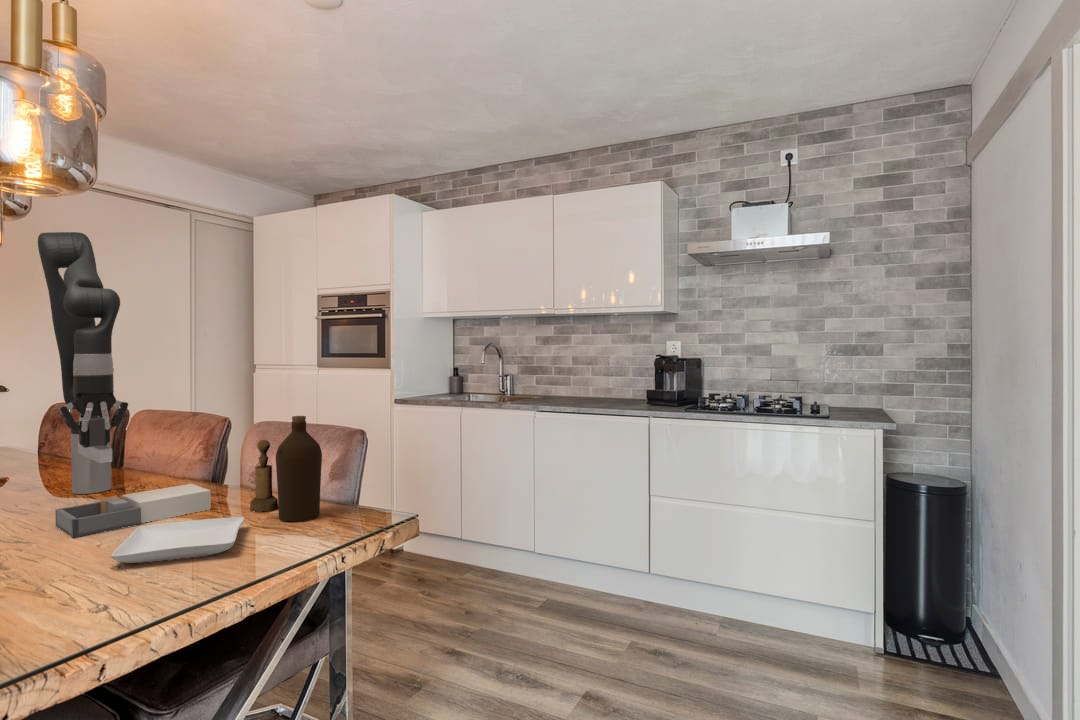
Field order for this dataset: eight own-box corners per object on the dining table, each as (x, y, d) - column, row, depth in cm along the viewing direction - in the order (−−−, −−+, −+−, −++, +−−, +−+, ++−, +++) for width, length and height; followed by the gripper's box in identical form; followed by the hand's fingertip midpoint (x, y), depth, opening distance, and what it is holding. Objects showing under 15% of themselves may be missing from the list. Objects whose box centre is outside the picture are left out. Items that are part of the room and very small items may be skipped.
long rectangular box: (122, 514, 149) (122, 495, 149) (191, 502, 161) (191, 483, 161) (139, 523, 141) (139, 502, 141) (210, 509, 154) (210, 490, 154)
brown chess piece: (244, 510, 153) (243, 441, 153) (264, 504, 159) (264, 437, 159) (263, 513, 150) (263, 442, 150) (283, 507, 156) (283, 439, 156)
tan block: (115, 513, 147) (100, 516, 145) (115, 495, 147) (100, 498, 145) (121, 517, 144) (106, 519, 142) (120, 498, 144) (105, 501, 142)
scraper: (76, 453, 144) (76, 416, 144) (91, 451, 147) (91, 415, 146) (98, 463, 134) (97, 423, 134) (113, 461, 137) (113, 422, 136)
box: (55, 526, 139) (55, 509, 139) (120, 514, 149) (120, 498, 149) (73, 538, 131) (72, 520, 130) (141, 524, 141) (140, 507, 141)
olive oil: (309, 524, 142) (309, 419, 141) (267, 522, 143) (266, 418, 142) (329, 511, 152) (329, 414, 152) (290, 510, 153) (289, 413, 153)
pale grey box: (122, 517, 144) (107, 520, 142) (122, 498, 144) (107, 501, 141) (128, 520, 141) (113, 523, 139) (128, 501, 141) (113, 504, 139)
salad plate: (138, 539, 131) (138, 524, 131) (245, 529, 139) (245, 514, 139) (108, 573, 111) (108, 555, 111) (235, 559, 119) (234, 541, 119)
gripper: (123, 371, 147) (124, 440, 148) (51, 373, 136) (52, 448, 137) (133, 372, 143) (134, 444, 143) (60, 374, 132) (62, 452, 132)
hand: (94, 445), depth 140 cm, fingers closed on scraper, 3 cm apart
